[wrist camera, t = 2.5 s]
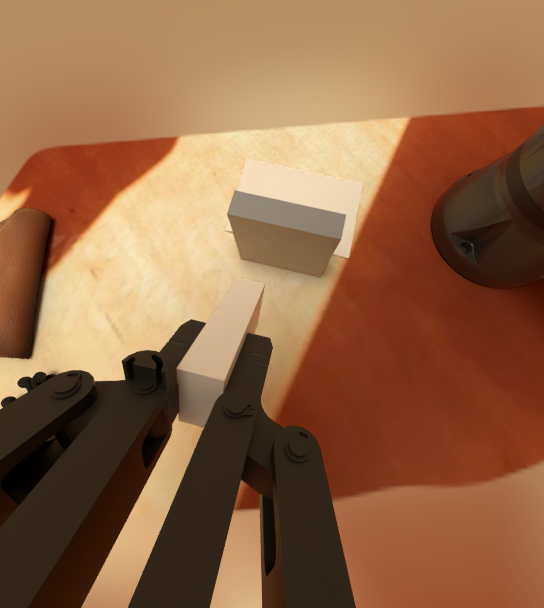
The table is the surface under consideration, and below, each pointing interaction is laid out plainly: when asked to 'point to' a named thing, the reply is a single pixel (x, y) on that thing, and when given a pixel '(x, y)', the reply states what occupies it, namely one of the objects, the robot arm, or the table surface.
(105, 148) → the table surface
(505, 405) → the table surface
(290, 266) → the slate tile
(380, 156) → the table surface
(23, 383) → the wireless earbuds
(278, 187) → the felt mat
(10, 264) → the sunglasses case
